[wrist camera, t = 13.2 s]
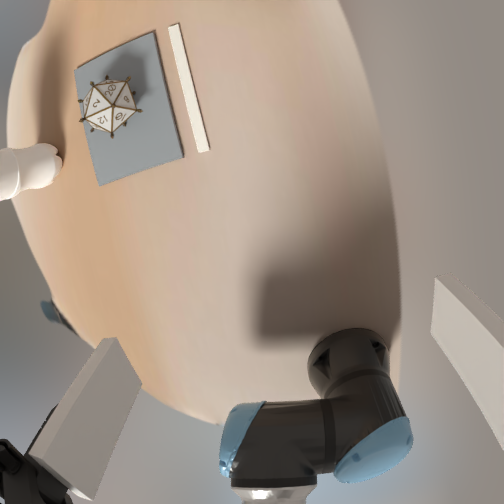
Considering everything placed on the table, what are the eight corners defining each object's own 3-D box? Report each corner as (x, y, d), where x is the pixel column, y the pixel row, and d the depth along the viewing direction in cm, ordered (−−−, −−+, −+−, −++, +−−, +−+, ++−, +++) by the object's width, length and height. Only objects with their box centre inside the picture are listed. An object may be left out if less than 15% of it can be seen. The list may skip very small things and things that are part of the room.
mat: (184, 157, 39) (182, 157, 38) (101, 185, 41) (99, 186, 40) (154, 33, 32) (152, 32, 32) (76, 71, 34) (73, 70, 33)
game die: (126, 100, 39) (95, 57, 29) (164, 107, 37) (134, 56, 27) (91, 146, 37) (52, 106, 28) (127, 158, 35) (84, 112, 25)
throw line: (209, 150, 39) (209, 150, 38) (199, 152, 39) (198, 153, 38) (178, 25, 32) (177, 24, 32) (169, 28, 32) (167, 27, 32)
